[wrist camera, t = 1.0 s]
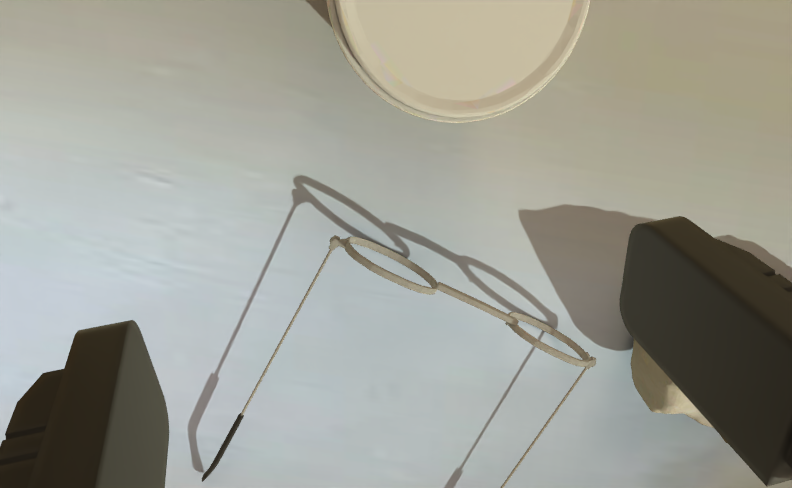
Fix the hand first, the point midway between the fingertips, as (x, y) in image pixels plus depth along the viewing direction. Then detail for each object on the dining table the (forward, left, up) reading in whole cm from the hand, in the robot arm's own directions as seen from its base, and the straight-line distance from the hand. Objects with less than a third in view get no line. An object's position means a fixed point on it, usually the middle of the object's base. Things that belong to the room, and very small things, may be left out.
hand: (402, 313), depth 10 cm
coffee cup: (-6, +4, -25) cm, 26 cm away
